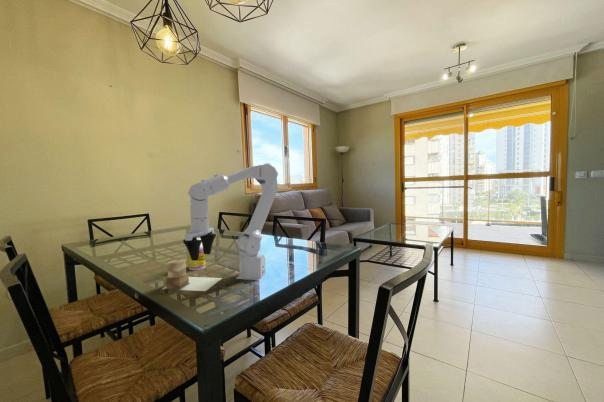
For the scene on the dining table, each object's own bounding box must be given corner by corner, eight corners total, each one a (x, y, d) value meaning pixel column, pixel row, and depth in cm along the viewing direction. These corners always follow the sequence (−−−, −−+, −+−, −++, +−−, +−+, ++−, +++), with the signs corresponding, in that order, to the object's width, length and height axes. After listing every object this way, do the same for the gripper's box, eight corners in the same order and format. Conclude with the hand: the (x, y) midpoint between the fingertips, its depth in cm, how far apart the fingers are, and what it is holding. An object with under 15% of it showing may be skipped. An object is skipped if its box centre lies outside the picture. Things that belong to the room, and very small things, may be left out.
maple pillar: (186, 274, 88) (185, 260, 88) (178, 278, 84) (178, 263, 84) (175, 273, 89) (175, 259, 88) (168, 277, 85) (167, 263, 84)
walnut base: (188, 283, 89) (188, 273, 88) (179, 289, 84) (179, 278, 84) (176, 282, 89) (175, 273, 89) (166, 288, 84) (165, 278, 84)
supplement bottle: (199, 271, 103) (198, 241, 103) (185, 271, 104) (184, 240, 104) (209, 266, 110) (207, 237, 109) (195, 266, 111) (194, 237, 110)
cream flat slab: (222, 279, 94) (222, 278, 93) (205, 292, 82) (205, 291, 82) (183, 278, 96) (183, 276, 96) (161, 290, 84) (161, 288, 84)
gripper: (200, 215, 94) (202, 251, 95) (175, 220, 80) (177, 262, 80) (218, 215, 93) (219, 251, 93) (195, 220, 78) (197, 263, 79)
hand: (201, 257), depth 87 cm, fingers open, 7 cm apart
